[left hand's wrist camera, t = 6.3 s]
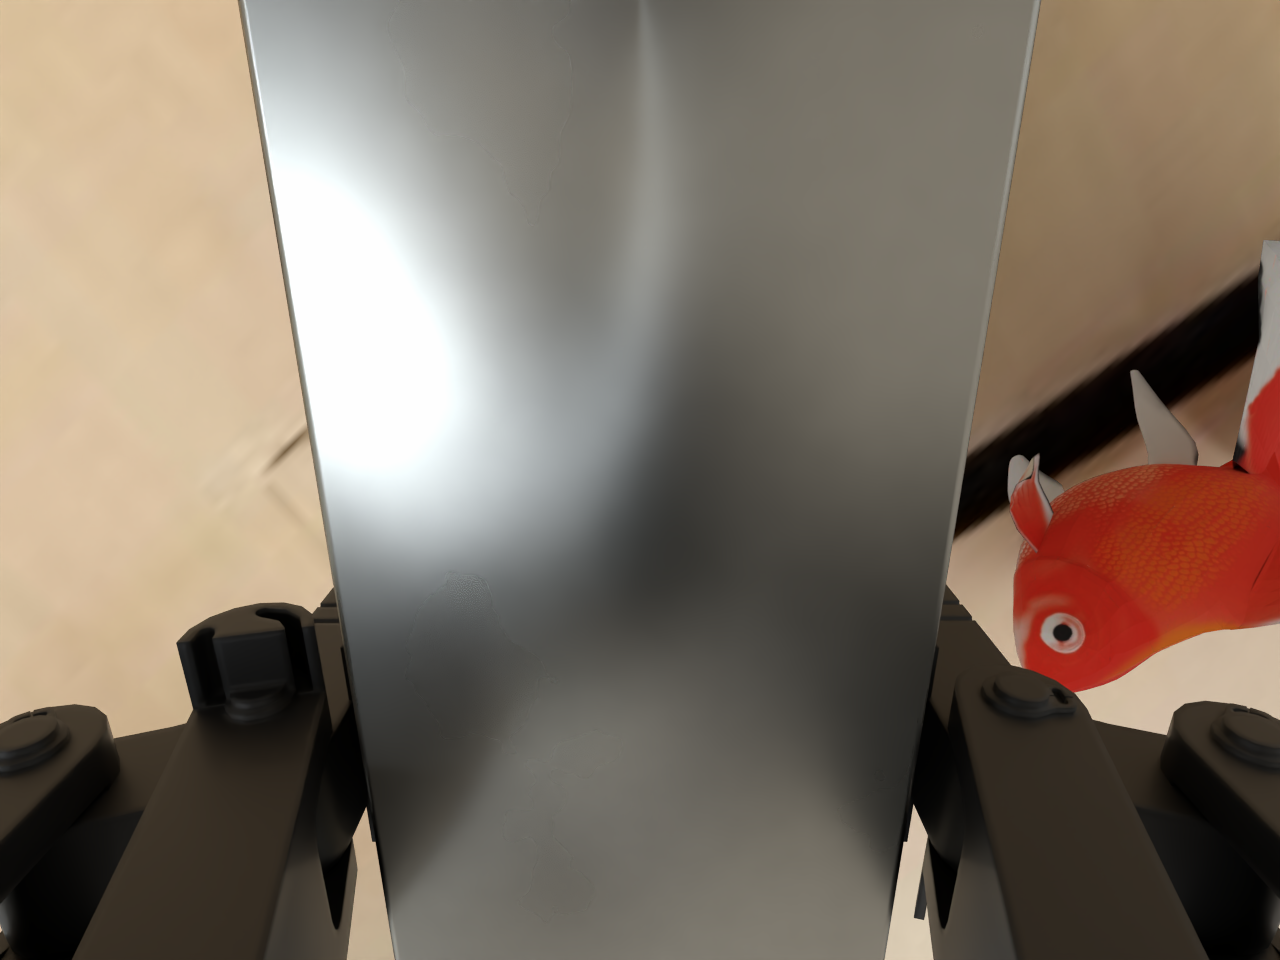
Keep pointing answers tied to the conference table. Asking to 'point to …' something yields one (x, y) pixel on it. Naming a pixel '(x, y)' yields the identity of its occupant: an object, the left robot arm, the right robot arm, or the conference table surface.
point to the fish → (1154, 535)
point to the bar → (639, 441)
